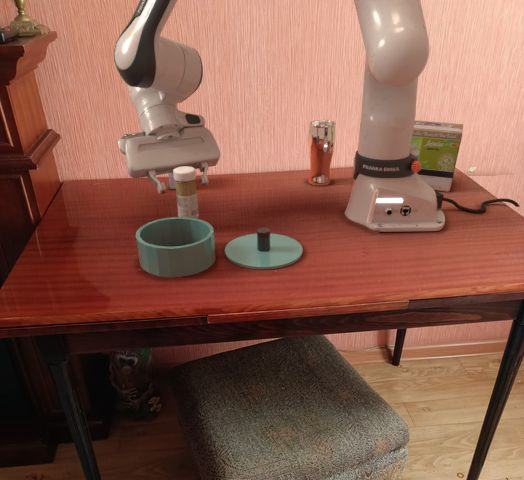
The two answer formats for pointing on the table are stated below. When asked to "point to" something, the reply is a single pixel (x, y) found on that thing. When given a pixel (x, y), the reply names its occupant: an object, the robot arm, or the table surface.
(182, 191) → the sprinkles bottle
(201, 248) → the pan
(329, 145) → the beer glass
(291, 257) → the pan lid
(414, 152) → the tea box
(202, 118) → the robot arm
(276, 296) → the table surface
